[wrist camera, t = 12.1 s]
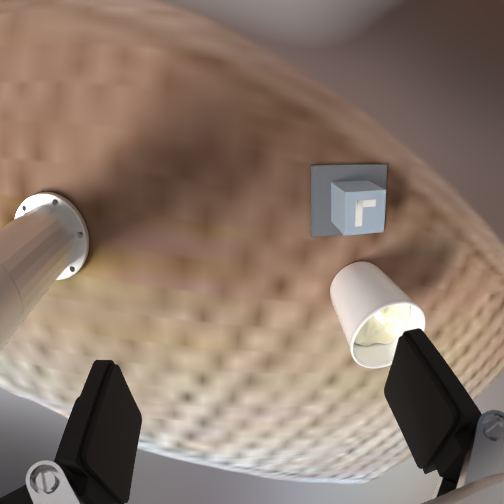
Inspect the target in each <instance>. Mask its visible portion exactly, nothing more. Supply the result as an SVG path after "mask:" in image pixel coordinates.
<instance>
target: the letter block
mask: <svg viewBox="0 0 504 504" xmlns="http://www.w3.org/2000/svg"><path fill="white" fill-rule="evenodd" d="M385 203H386V190H385V189H383V188H381V187H380V186H378V185H376V184H374V183H372V182H370V181H369V180H366V181H345V182H331V222H332V223H333V224H334V225H335V226H336V227H337V228H338V229H339V230H340V232H341V233H342V234H343V235H344V236H347V235H357V234H368V233H378V232H384V221H385Z"/></svg>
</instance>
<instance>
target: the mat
mask: <svg viewBox="0 0 504 504" xmlns="http://www.w3.org/2000/svg"><path fill="white" fill-rule="evenodd" d="M366 180H369V181H370V182H372V183H374V184H376V185H378V186H380V187H381V188H383V189H385V190H386V180H387V165H386V164H335V165H311V236H312V237H318V236H331V235H343V234H342V233H341V232H340V230H339V229H338V228H337V227H336V226H335V225H334V224H333V223H332V222H331V182H345V181H366Z"/></svg>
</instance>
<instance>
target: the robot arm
mask: <svg viewBox="0 0 504 504" xmlns="http://www.w3.org/2000/svg"><path fill="white" fill-rule="evenodd" d="M57 201H58V202H57ZM88 251H89V235H88V230H87V227H86V224H85V221H84V219H83V217H82V216H81V214H80V212H79V211H78V210H77V208H76V207H75V206H74V205H73V204H72V203H71V202H70V201H69V200H67V199H66V198H64V197H63V196H61V195H59V194H56V193H52V192H40V193H37V194H34V195H32V196H30V197H29V198H27V199H26V200H25V201H24V202H23V203H22V204H21V205H20V207H19V208H18V210H17V213H16V215H15V219H14V220H13V221H11V222H10V223H8V224H7V225H5V226H4V227H2V228H1V229H0V354H1V352H2V350H3V349H4V347H5V346H6V344H7V343H8V341H9V340H10V338H11V337H12V335H13V334H14V333H15V331H16V330H17V329H18V327H19V326H20V325H21V323H22V322H23V321H24V319H25V318H26V317H27V316H28V314H29V313H30V312H31V310H32V309H33V308H34V307H35V305H36V304H37V303H38V301H39V300H40V299H41V298H42V296H43V295H44V294H45V293H46V292H47V290H48V289H49V288H50V287H51V285H52V284H53V283H54V282H55V281H56V280H62V279H67V278H69V277H71V276H73V275H74V274H76V273H77V272H78V271H79V270H80V269H81V267H82V266H83V264H84V263H85V261H86V258H87V256H88ZM384 394H385V397H386V400H387V402H388V404H389V406H390V408H391V410H392V412H393V414H394V416H395V418H396V421H397V423H398V425H399V427H400V429H401V431H402V433H403V436H404V438H405V440H406V442H407V444H408V447H409V449H410V451H411V453H412V455H413V458H414V460H415V462H416V464H417V466H418V467H419V468H420V469H423V471H424V473H425V474H427V473H429V472H432V471H434V470H438V473H439V475H440V477H439V480H438V483H437V485H436V488H435V491H434V494H433V496H432V499H431V500H429V501H427V502H424V503H422V504H504V413H503V412H501V411H498V410H490V411H487V412H485V413H483V414H481V412H480V411H479V409H478V408H477V406H476V405H475V403H474V402H473V400H472V399H471V397H470V396H469V394H468V393H467V391H466V390H465V388H464V387H463V385H462V384H461V383H460V381H459V380H458V378H457V377H456V375H455V374H454V373H453V371H452V370H451V368H450V367H449V366H448V364H447V363H446V361H445V360H444V359H443V357H442V356H441V355H440V353H439V352H438V350H437V349H436V348H435V346H434V345H433V344H432V342H431V341H430V340H429V338H428V337H427V336H426V334H425V333H424V332H423V331H422V330H421V329H420V328H417V329H412V330H408V331H404V332H403V334H402V336H400V337H399V339H398V342H397V346H396V350H395V354H394V357H393V361H392V364H391V368H390V371H389V375H388V378H387V381H386V384H385V388H384ZM141 424H142V416H141V413H140V411H139V409H138V407H137V405H136V403H135V400H134V398H133V396H132V394H131V392H130V390H129V388H128V385H127V383H126V381H125V379H124V376H123V374H122V372H121V369H120V367H119V366H118V365H115V364H114V362H113V361H112V360H96V361H94V363H93V366H92V368H91V370H90V373H89V375H88V378H87V380H86V383H85V385H84V388H83V390H82V393H81V395H80V397H78V398H77V400H76V401H75V404H74V406H73V409H72V412H71V414H70V417H69V420H68V423H67V425H66V428H65V431H64V434H63V436H62V439H61V442H60V445H59V448H58V451H57V454H56V457H55V460H54V462H52V461H40V462H37V463H36V464H34V465H32V467H31V468H30V469H29V471H28V473H27V475H26V485H24V486H22V487H21V488H19V489H17V490H15V491H13V492H11V493H9V494H7V495H5V496H3V497H1V498H0V504H124V503H127V502H128V500H129V494H130V488H131V481H132V475H133V469H134V462H135V457H136V451H137V446H138V440H139V435H140V429H141Z"/></svg>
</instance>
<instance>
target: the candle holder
mask: <svg viewBox="0 0 504 504" xmlns="http://www.w3.org/2000/svg"><path fill="white" fill-rule="evenodd" d="M330 297H331V300H332V303H333V306H334V308H335V311H336V314H337V316H338V319H339V321H340V324H341V326H342V329H343V331H344V334H345V337H346V339H347V342H348V344H349V347H350V350H351V354H352V357H353V358H354V360H355V361H356V362H357V363H358V364H360V365H361V366H364V367H367V368H381V367H386V366H389V365H391V364H392V361H393V357H394V354H395V350H396V346H397V342H398V339H399V337H400V336H402V334H403V332H404V331H408V330H412V329H417V328H420V329H421V330H422V331H423V332H424V329H425V315H424V313H423V311H422V309H421V308H420V307H419V306H418V305H417V304H415V303H414V302H413V301H412V300H411V299H410V298H409V297H408V296H407V295H406V294H405V293H404V292H403V291H402V290H401V289H400V288H399V287H398V286H397V285H396V284H395V283H394V282H393V281H392V280H391V279H390V278H389V277H388V276H387V275H386V274H385V273H384V272H382V271H381V270H380V269H379V268H378V267H377V266H375V265H374V264H372V263H369V262H364V261H360V262H355V263H352V264H349V265H347V266H346V267H344V268H343V269H342V270H340V271H339V272H338V273H337V275H336V276H335V278H334V279H333V281H332V284H331V288H330Z"/></svg>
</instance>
